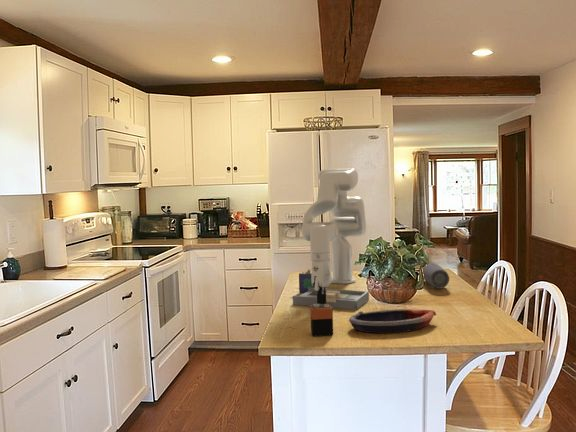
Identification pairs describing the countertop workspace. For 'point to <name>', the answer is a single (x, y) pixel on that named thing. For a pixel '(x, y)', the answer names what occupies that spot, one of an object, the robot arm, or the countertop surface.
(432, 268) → the bluetooth speaker
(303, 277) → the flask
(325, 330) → the battery
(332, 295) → the beech block
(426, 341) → the countertop surface
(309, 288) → the board
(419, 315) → the dish
